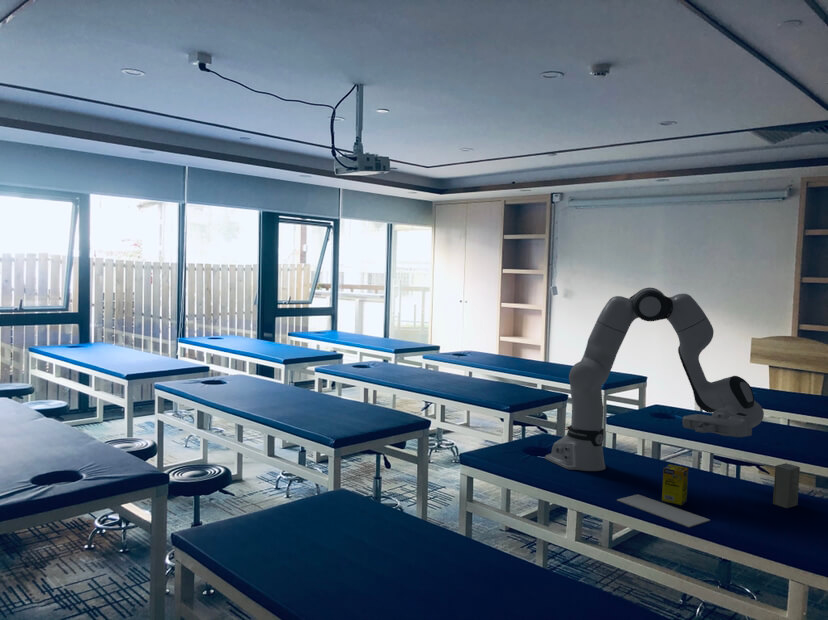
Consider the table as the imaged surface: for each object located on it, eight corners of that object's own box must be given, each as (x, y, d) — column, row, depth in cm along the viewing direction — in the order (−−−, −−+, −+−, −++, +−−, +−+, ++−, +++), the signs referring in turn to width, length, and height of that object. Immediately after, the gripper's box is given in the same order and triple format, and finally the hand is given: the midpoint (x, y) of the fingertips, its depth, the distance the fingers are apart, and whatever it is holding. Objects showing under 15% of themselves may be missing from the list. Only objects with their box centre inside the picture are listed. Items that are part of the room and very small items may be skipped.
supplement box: (682, 508, 185) (683, 471, 185) (661, 503, 189) (663, 467, 188) (687, 502, 190) (688, 467, 189) (666, 498, 193) (668, 463, 193)
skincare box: (783, 501, 194) (786, 462, 194) (798, 505, 191) (800, 466, 190) (772, 504, 191) (774, 465, 191) (786, 508, 187) (789, 469, 187)
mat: (616, 500, 190) (616, 499, 190) (637, 495, 195) (637, 494, 195) (689, 527, 170) (689, 526, 170) (710, 520, 175) (710, 519, 175)
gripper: (697, 408, 212) (670, 415, 205) (755, 416, 194) (728, 424, 187) (698, 426, 212) (671, 434, 205) (756, 436, 194) (729, 445, 187)
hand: (699, 429), depth 196 cm, fingers closed
